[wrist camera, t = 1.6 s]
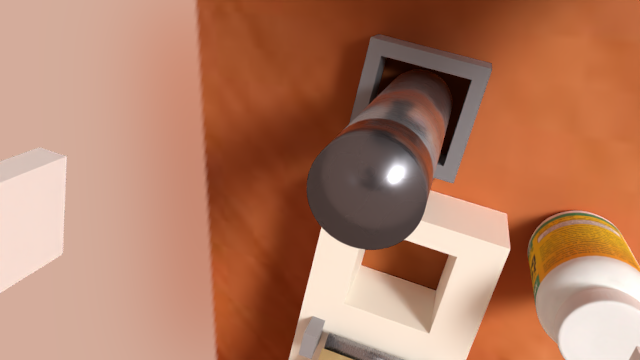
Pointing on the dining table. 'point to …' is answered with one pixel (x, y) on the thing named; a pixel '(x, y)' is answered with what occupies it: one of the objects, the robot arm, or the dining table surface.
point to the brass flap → (350, 350)
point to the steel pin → (382, 164)
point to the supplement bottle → (585, 286)
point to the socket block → (408, 289)
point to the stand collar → (437, 61)
